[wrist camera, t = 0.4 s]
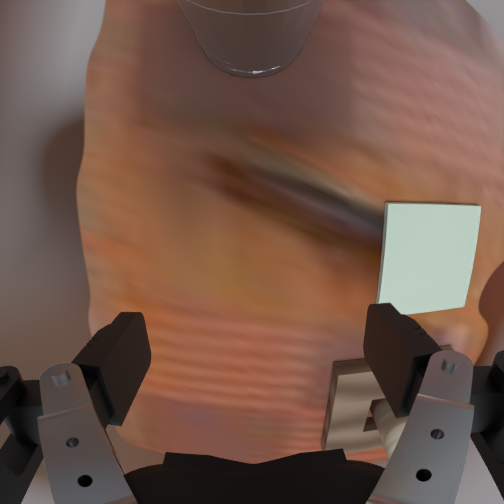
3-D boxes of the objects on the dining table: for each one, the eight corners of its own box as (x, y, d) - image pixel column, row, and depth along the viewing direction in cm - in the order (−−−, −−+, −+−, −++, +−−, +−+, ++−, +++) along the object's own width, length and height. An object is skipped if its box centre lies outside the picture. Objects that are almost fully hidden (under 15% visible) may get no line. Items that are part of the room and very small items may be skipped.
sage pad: (384, 202, 28) (388, 203, 27) (477, 204, 28) (481, 206, 27) (374, 314, 32) (376, 317, 31) (460, 303, 32) (463, 306, 31)
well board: (333, 361, 34) (338, 375, 32) (449, 344, 34) (458, 355, 31) (320, 443, 39) (323, 456, 37) (418, 425, 39) (423, 436, 36)
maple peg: (372, 391, 36) (403, 469, 23) (402, 386, 36) (439, 458, 23) (366, 413, 37) (392, 488, 25) (395, 408, 37) (426, 478, 25)
